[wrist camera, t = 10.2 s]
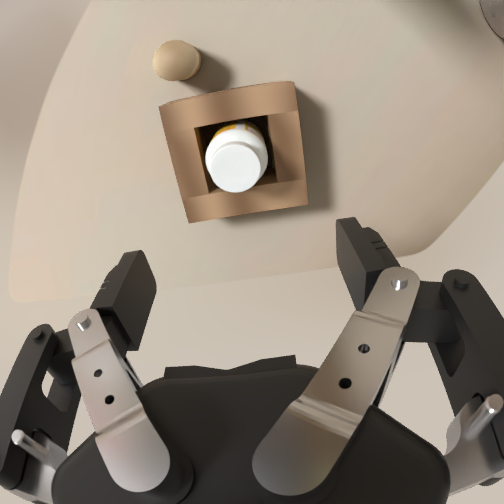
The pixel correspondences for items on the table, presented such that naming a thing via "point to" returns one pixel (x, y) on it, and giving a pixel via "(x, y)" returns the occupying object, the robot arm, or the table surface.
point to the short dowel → (176, 60)
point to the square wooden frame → (226, 109)
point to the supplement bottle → (237, 156)
